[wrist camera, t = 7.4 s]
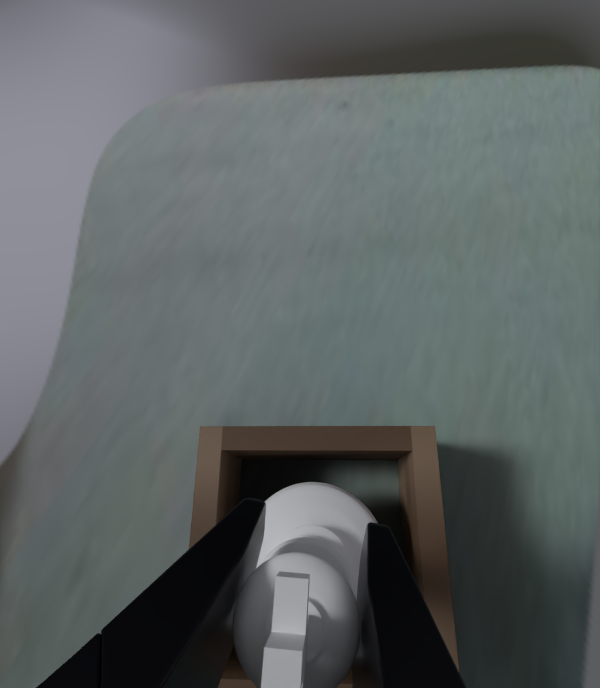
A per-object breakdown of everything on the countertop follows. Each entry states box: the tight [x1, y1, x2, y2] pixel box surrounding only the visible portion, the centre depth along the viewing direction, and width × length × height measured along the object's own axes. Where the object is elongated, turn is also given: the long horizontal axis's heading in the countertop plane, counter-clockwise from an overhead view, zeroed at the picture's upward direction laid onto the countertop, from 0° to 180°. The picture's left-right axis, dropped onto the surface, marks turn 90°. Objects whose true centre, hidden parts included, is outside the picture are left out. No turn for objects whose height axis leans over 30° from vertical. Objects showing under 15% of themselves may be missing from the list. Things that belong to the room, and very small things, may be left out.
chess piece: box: [232, 482, 378, 688], centre depth 9 cm, size 5×5×10 cm
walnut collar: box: [189, 426, 459, 688], centre depth 15 cm, size 8×8×4 cm
